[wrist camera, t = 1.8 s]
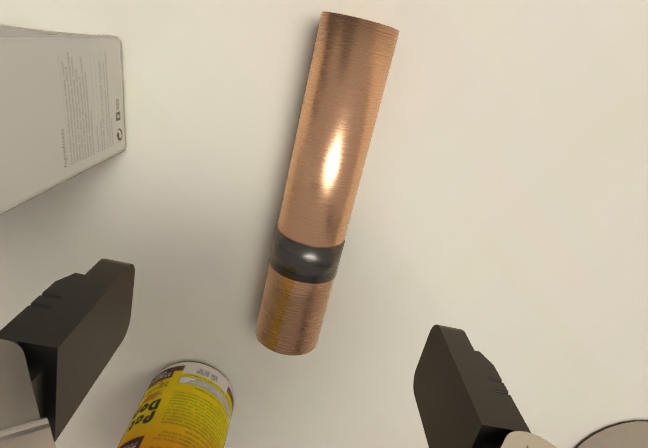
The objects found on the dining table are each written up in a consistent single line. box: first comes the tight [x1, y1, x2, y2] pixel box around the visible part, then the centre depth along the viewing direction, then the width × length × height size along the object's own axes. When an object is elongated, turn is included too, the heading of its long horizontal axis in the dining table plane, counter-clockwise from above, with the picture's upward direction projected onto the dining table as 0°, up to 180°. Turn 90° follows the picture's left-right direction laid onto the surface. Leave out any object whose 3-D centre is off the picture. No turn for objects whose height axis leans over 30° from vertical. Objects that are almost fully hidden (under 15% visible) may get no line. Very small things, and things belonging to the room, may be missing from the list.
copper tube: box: [256, 12, 399, 355], centre depth 24 cm, size 17×4×4 cm, turn 167°
